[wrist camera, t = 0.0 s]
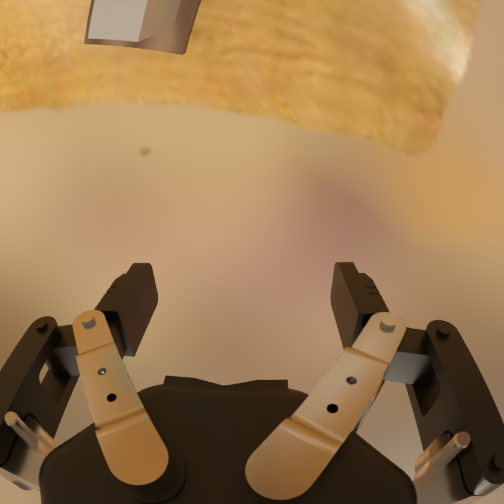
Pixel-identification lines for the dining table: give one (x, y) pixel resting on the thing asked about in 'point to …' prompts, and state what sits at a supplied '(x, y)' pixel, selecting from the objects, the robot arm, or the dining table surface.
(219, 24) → the dining table surface
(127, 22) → the tall grey rectangular prism
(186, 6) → the dark wooden board
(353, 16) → the dining table surface
